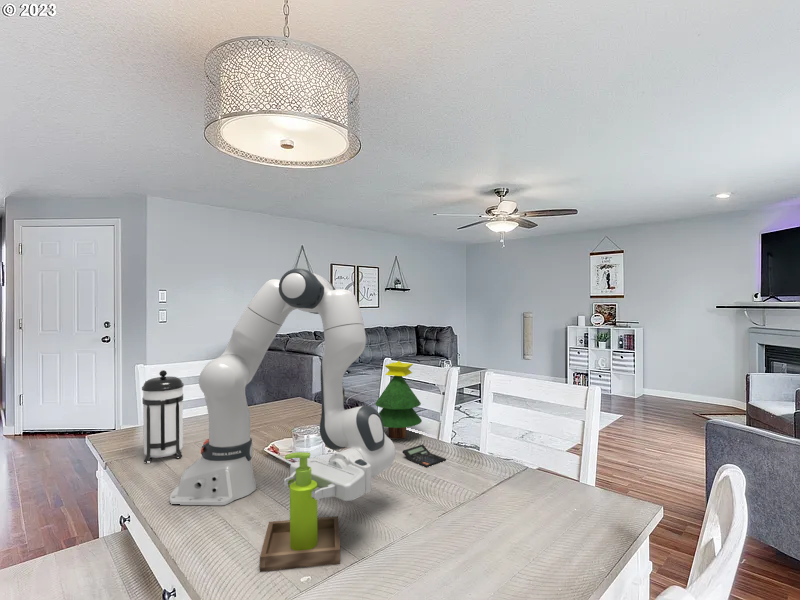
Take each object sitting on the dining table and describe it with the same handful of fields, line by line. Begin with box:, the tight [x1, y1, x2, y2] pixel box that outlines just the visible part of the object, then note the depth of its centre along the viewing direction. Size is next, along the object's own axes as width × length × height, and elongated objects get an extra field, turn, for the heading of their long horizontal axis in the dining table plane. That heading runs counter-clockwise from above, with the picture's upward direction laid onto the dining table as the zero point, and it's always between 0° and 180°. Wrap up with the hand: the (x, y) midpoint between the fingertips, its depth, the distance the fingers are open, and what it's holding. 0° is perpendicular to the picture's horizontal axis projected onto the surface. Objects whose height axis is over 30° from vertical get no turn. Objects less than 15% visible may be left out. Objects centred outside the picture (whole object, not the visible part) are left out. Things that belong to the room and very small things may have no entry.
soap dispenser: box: [284, 451, 318, 551], centre depth 97 cm, size 6×7×20 cm
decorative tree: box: [375, 360, 423, 440], centre depth 174 cm, size 19×19×30 cm
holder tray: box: [259, 515, 341, 573], centre depth 96 cm, size 16×14×3 cm
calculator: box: [402, 444, 447, 468], centre depth 149 cm, size 9×12×3 cm
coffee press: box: [141, 369, 185, 464], centre depth 151 cm, size 17×16×30 cm
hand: (299, 489), depth 96 cm, fingers open, 8 cm apart
